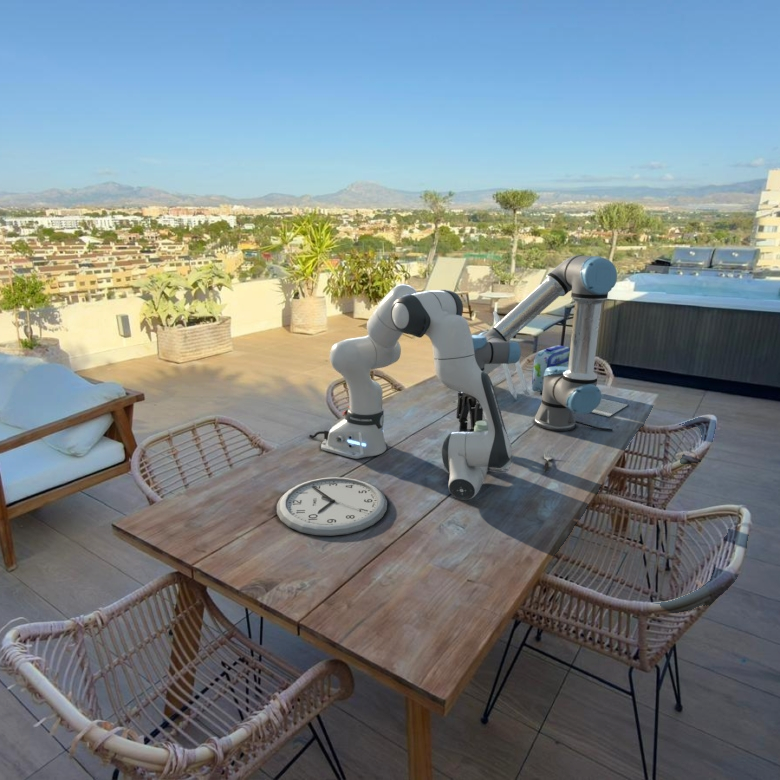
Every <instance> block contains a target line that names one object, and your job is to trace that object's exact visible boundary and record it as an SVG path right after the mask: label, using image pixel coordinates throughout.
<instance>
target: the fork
mask: <svg viewBox="0 0 780 780" xmlns="http://www.w3.org/2000/svg"><path fill="white" fill-rule="evenodd" d="M553 451H554V450H553V448H552V451H551V449H549V451H547V450H545V452H544V455H543V459H545V460H546V461H545V463H544V473H547V470H548V468H549V461H551V460H553Z"/></svg>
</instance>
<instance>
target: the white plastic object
mask: <svg viewBox="0 0 780 780" xmlns="http://www.w3.org/2000/svg"><path fill="white" fill-rule="evenodd" d="M492 315H493V319H494V321H495V325H496V324H497V323H499V322H500V321H501V318H500V315H499V314H498V312H497V311H496V310H495V311H492ZM500 366H502V370H503V373H504V376H505V380H506V383H507V386H508V390H509V393H510V394H511V395H512V397H513V398H514V399H515V400H517V392H516V391H517V390H516V388H515V385H514V381H513V378H512V375H511V371H510V369H509V364H485V366H484V373H487V374H488V375H489V374H490V373H492V372H494V371H495V370H496V369H497V368H499V367H500ZM514 366H515V369H516V372H517V376H518V380H519V382H520V385H521V389H522V391H523V393H524V395H525V396H526V397H528V396H531V395H530V390H529V388H528V387H529V386H528V384H527V381H526V378H525V375H524V371H523V369H522V368H523V367H522V366H521V362H520V360H519V361H518V362H517V363H514Z"/></svg>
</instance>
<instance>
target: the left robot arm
mask: <svg viewBox="0 0 780 780" xmlns="http://www.w3.org/2000/svg"><path fill="white" fill-rule="evenodd" d="M461 298H462V297H460V295H458V293H456V292H455V291H452V290H448V289H438V290H424V291H420V292H418V291H417V290H416V289H415V287H413V286H411V285H408V284H403V283H402V284H397V285H396V286H394V287H393V288H392V289H391V290H389V291H388V292H387V294H386V295H385V296H384V297H383V298H382V299H381V301H379V304H377V306H376V308H374V310H373V312H372V314H371V315H370V317H369V318H368V319H367V322H366V331H367V334H366V335H365V336H358V337H353V338H346V339H343V340H341V341H338V342H335V343H334V344H333V345H332V346H331V349H330V351H329V362H330V365H331V366H332V368H333V370H335V372H337V373H339V374H340V375H341V376H342V377H343V379H344V380H345V383H346V385H347V388H348V389H347V390H348V398H349V400H348V402H349V403H348V404H349V405H348V406H347V408H346V409H345V410H344V411H342V417H344V418H343V419H341V420H340V421H338V422H337V423H336V424H334V425H333V426H330V427H328V428H326V429H325V430H320V431H317V432H314V434H309V438H312V439H315V438H316V437H317V436H318V435H323V439H324V440H323V441H322V442H321V444H320V449H321V450H322V451H325V452H329V453H332V454H337V455H339V456H343V457H347V458H350V459H354V460H359V459H362V458H366V457H374V456H379V455H381V454H383V453H385V452H386V451H387V444H386V440H385V436H384V423H385V415H384V411H385V410H384V408H383V391H384V390H383V388H382V385H380V383H379V382H377V381H376V380H373V379H372V378H371V370H376V369H383V368H386V367H388V366H391V365H393V364H395V363H397V362H398V361H399V359H400V357H401V355H402V354H401V353H402V346H401V343H400V341H399V340H400V339H401V337H402V336H403V335H404V334H406V335H409V336H410V335H411V336H413V337H416V338H422V337H424V336H427V337H428V339H429V340H430V341H431V346H432V358H433V365H434V371H435V375H436V378H437V379H438V380H439V381H440V382H441V383H442V384H443V385H444V386H446V387H448V388H449V389H451V390H453V391H456V392H463V393H466V394H469V395H471V396H473V397H475V398H476V399H477V400H478V401H479V402H480V404H481V406H482V409H483V416H484V419H485V420H484V421H486V423H487V427H488V431H478V432H469V431H467V432H459V431H452V432H450V433H449V434H448V435H447V436H446V438H445V439H444V441H443V444H442V447H441V458H442V463H443V469H444V472H445V473H448V474H449V479H448V491H449V493H450V494H451V496H453V497H454V498H455V499H457V500H461V501H469V500H472V499H473V498H474V497H476V496H477V495H478V493H479V492H480V490H481V488H482V486H483V483H484V480H485V479H486V476H487V474H488V472H491V473H497V474H504V473H506V472H509V471H510V469H511V464H512V455H513V449H512V443H511V440H510V437H509V434H508V432H507V429H506V426H505V423H504V420H503V416H502V412H501V409H500V406H499V401H498V398H497V394H496V391H495V388H494V385H493V382H492V379H491V377H490V376H489V374H487V373H484V372H482V371H481V369H480V368H479V366H478V364H477V362H476V359H475V353H474V345H473V340H472V335H473V334H472V331H471V328H470V325H469V322H468V320H467V319H466V318H465V317H464V316H463V313H464V304H463V300H462V299H461Z"/></svg>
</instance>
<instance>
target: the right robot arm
mask: <svg viewBox="0 0 780 780" xmlns="http://www.w3.org/2000/svg"><path fill="white" fill-rule="evenodd" d="M617 280H618V272H617V268H616V266H615V264H614V263H613V262H612V261H611V260H610V259H607V258H606V257H601V256H595V255H584V254H577V255H573V256H571V257H568V258H567V259H565V260H563V261H562V262H561V263H560V264H558V265H557V266H555V268H554V269H552V270H551V271H550V272H549V273H548V274H547V275H546V276H545V278H544V281H542V283H541V284H540V285H538V287H536V288H535V289H534V290H533V291H532V292H531V293H530V294H529V295H527V297H525V298H524V299H523V300H522V301H521V302H519V303H518V304H517V305H516V306H515V307H513V309H512V310H511V311H510V312H508V313H507V314H506V315H505V316H504V317H502V319H500V322H499V323H497V324H496V323H495V325H494V326H493V327H492V328H490V329H489V330H488V331H483V332H480V333H479V334H471V335H472V340H473V345H474V353H475V359H476V362H477V364H478V366H479V368H480V369H481V371H482V372H484V366H485V364H501V365H502V364H507V365H509V364H515V363H517V362H518V361H519V362H520V359H521V354H522V350H521V346H520V343H519V342H518V341H511V340H512V338H514V337H515V336H516V335H517V334H519V332H521V331H522V330H523V329H524V328H525V327H527V325H528V324H530V323H531V322H532V321H533V320H534V319H535V318H537V316H539V315H540V314H541V313H542V312H543V311H545V309H547V308H548V307H549V306H550V305H551V304H553V302H555V301H556V300H557V299H558V298H559V297H565V296H566V295H567V294H568V293H569V292H571V293H570V297H571V299H572V300H573V301H574V309H573V320H572V326H571V328H572V329H571V337H570V346H569V347H570V355H569V364H568V367H559V366H558V367H548V368H547V369H546V370H545V373H544V382H543V391H542V394H541V402H540V405H539V406H538V410H537V411H536V413H535V416H534V424H535V425H536V426H537V427H539V428H542V429H544V430H549V431H556V432H567V431H572V430H574V429H575V428H576V424H578V425H581V426H584V427H588V428H592V429H595V430H599V431H608V432H613V428H607V427H599V426H595V425H592V424H588V423H585V422H581V421H579V420H578V421H577V420H576V418H575V417H576V416H575V414H577V415H587V414H590V413H592V411H593V410H594V409H595V408H597V406H598V405H599V403H600V401H601V399H602V392H601V390H600V387H598V386H597V384H598V375H597V373H595V371H594V370H595V362H596V355H597V347H598V338H599V329H600V323H601V321H600V320H601V316H602V315H601V314H602V306H603V303H604V302H605V301H606V300H608V296H609V293H610V292H611V291H612V290H613V288H614V287H615V285H616V283H617ZM468 416H469V419H470V428H468V424H469V423H468V421H469V420H468ZM483 416H484V412H483V409H482V406H481V404H480V402H479V401H478V400H477V399H476V398H475V397H473V396H471V395H469V394H466V393H463V392H460V391H458V392H457V407H456V415H455V417H456V419H457V420H458V422H459V425H458V427H459V430H458V432H459V431H460V430H462V429H469V432H474V426H475V425H476V424H475V423H476V422H477V421H483V418H484V417H483Z"/></svg>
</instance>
